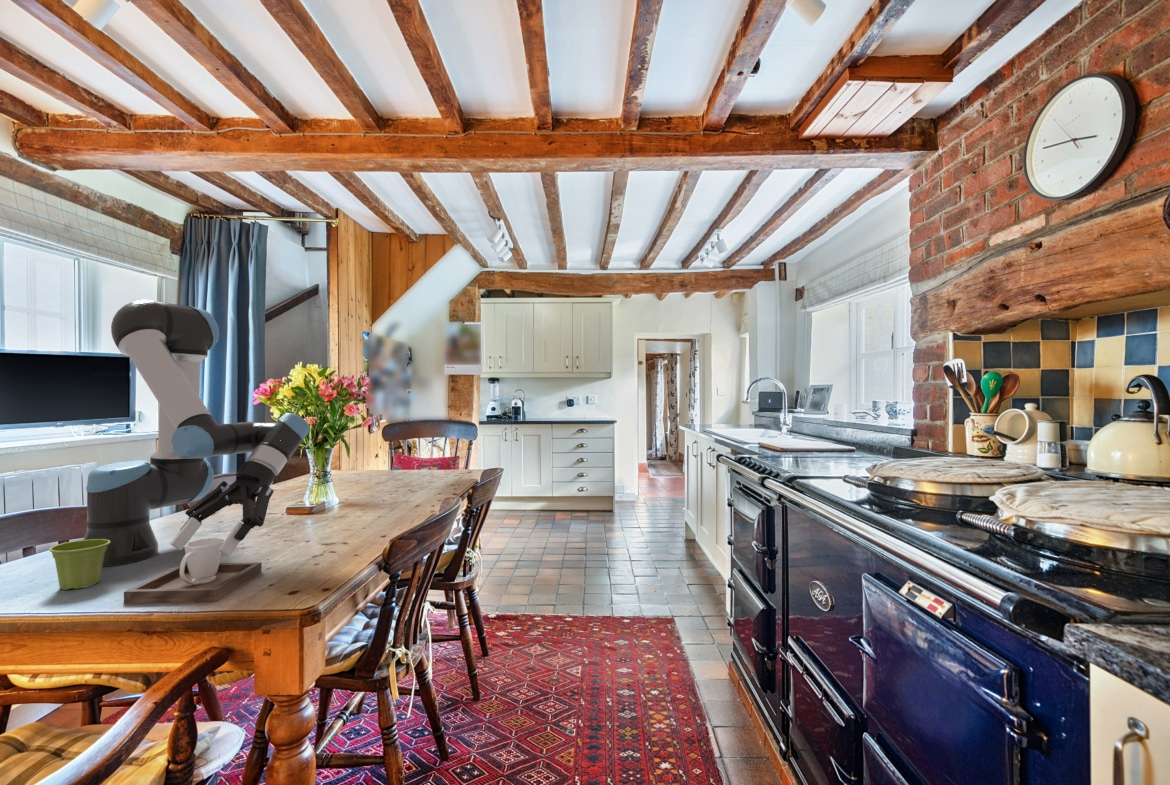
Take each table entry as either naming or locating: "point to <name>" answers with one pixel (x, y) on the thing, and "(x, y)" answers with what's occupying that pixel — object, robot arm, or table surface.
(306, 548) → the table surface
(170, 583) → the tray
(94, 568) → the plant pot
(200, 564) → the cup
